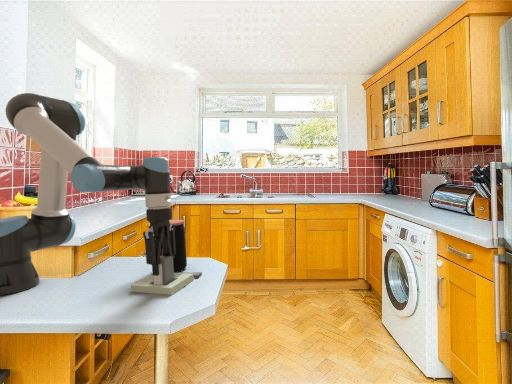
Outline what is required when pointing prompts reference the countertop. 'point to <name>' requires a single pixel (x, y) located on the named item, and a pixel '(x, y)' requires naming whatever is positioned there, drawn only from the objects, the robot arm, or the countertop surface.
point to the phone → (195, 274)
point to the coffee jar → (178, 246)
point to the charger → (167, 269)
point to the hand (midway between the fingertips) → (163, 282)
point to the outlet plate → (149, 287)
